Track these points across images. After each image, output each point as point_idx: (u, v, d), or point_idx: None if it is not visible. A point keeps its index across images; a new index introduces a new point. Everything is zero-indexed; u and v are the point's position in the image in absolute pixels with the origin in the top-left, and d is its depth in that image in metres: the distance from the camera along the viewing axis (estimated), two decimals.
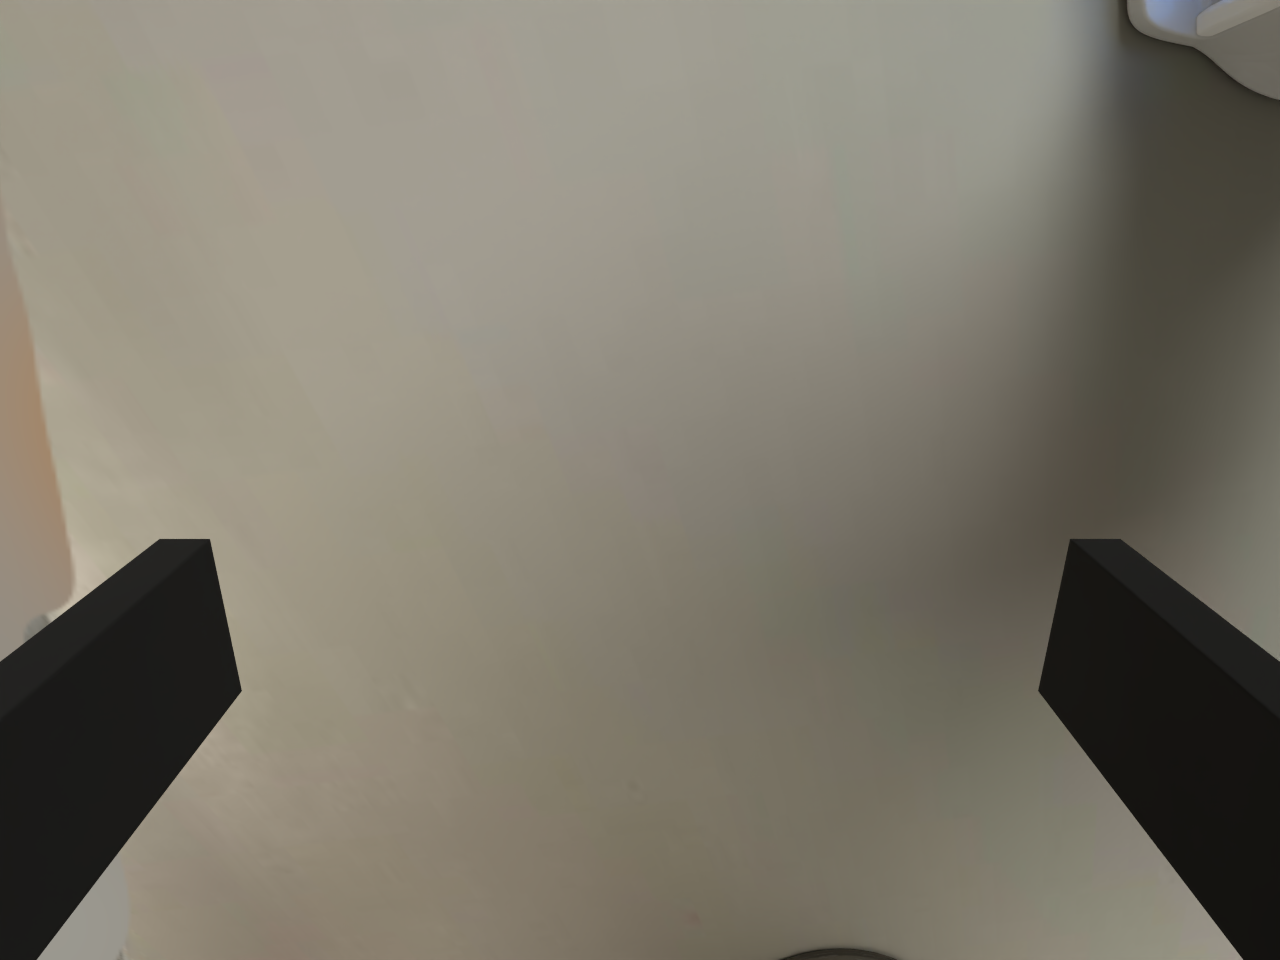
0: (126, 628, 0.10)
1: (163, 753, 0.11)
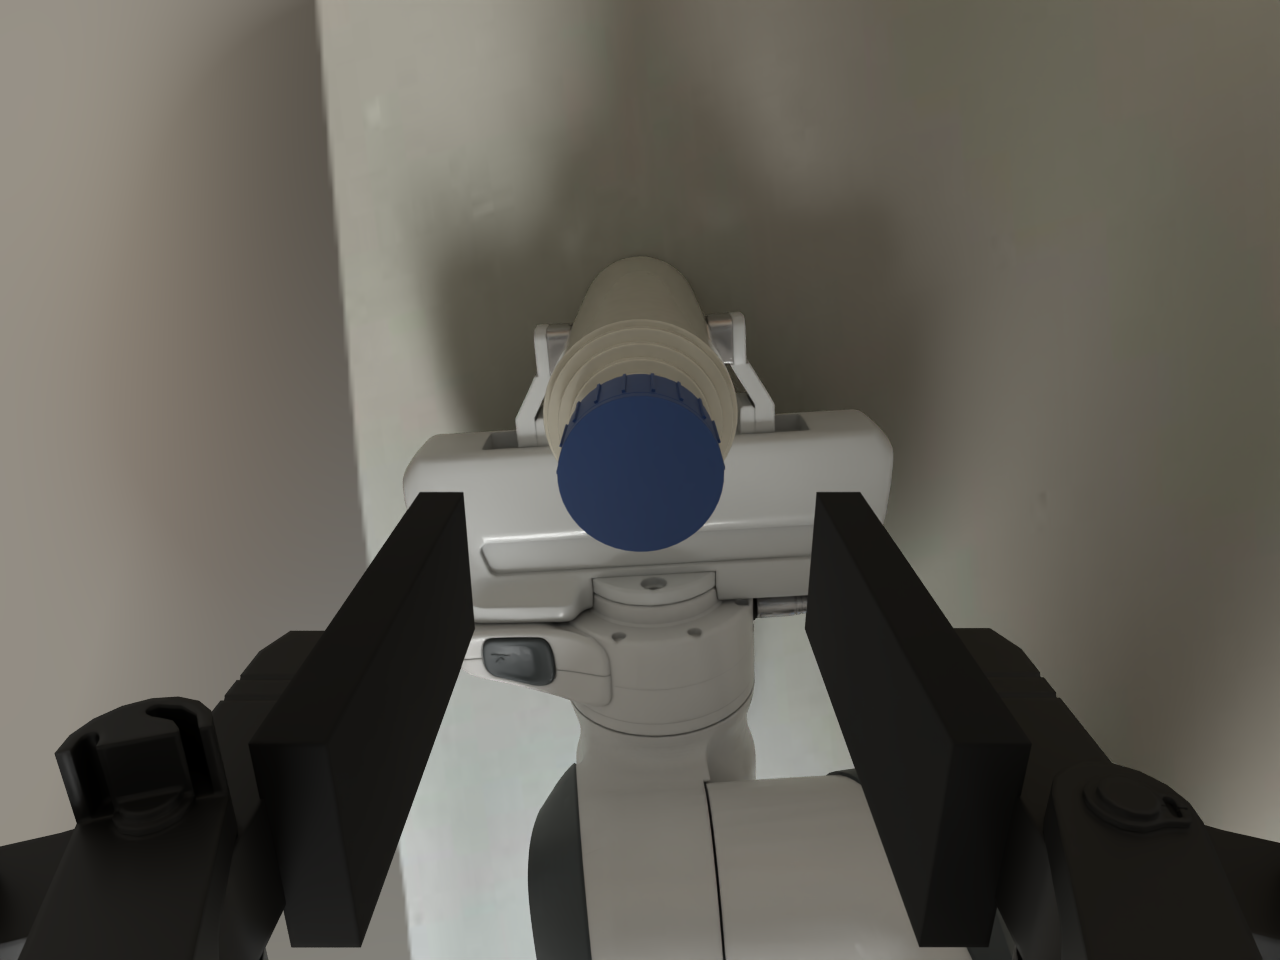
0: (434, 559, 0.12)
1: (447, 672, 0.13)
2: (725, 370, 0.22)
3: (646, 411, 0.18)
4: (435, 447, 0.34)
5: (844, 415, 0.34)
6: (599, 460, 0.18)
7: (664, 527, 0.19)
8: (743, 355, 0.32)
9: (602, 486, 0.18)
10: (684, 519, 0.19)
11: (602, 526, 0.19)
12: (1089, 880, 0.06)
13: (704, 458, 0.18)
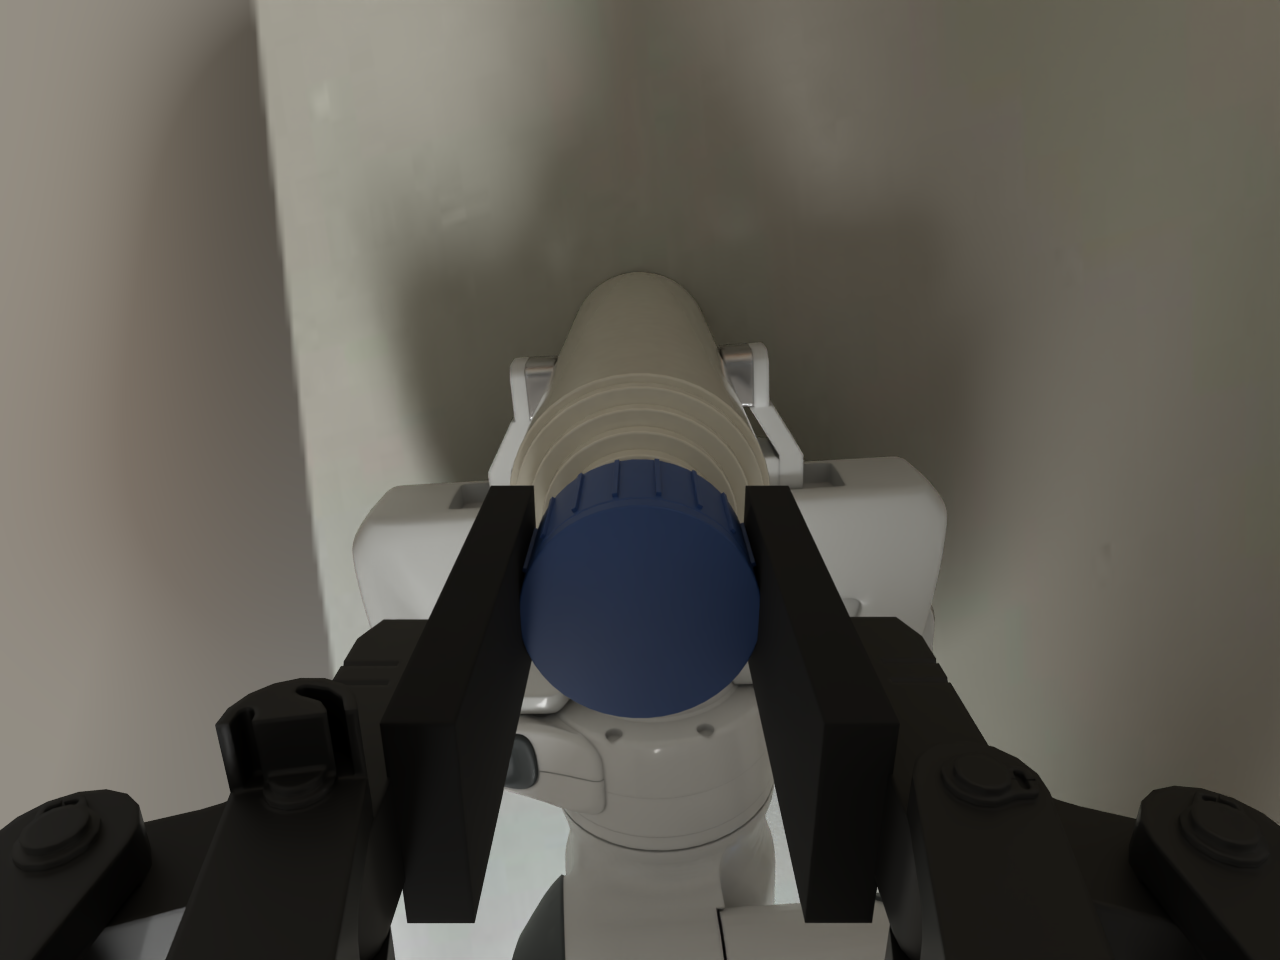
0: (516, 551, 0.12)
1: (524, 661, 0.13)
2: (754, 440, 0.16)
3: (648, 527, 0.12)
4: (393, 504, 0.28)
5: (885, 464, 0.28)
6: (578, 596, 0.12)
7: (674, 686, 0.13)
8: (765, 396, 0.26)
9: (584, 630, 0.13)
10: (703, 675, 0.13)
11: (584, 685, 0.13)
12: (945, 858, 0.07)
13: (733, 592, 0.12)
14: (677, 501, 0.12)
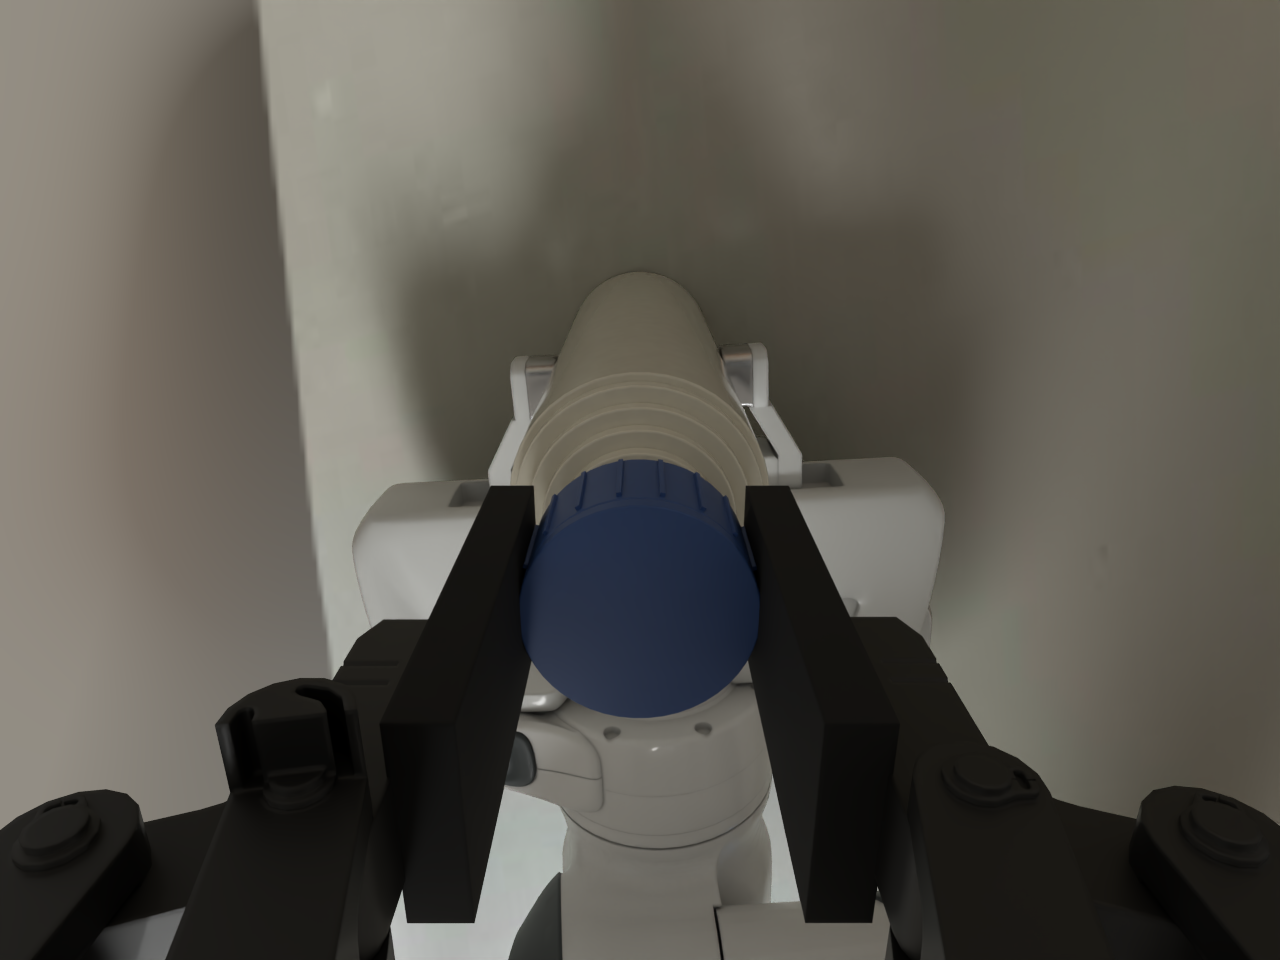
0: (516, 551, 0.12)
1: (524, 661, 0.13)
2: (754, 440, 0.17)
3: (540, 623, 0.13)
4: (393, 502, 0.28)
5: (883, 465, 0.29)
6: (623, 672, 0.13)
7: (716, 577, 0.12)
8: (765, 396, 0.26)
9: (661, 663, 0.13)
10: (698, 552, 0.12)
11: (723, 657, 0.13)
12: (945, 858, 0.07)
13: (597, 538, 0.12)
14: None
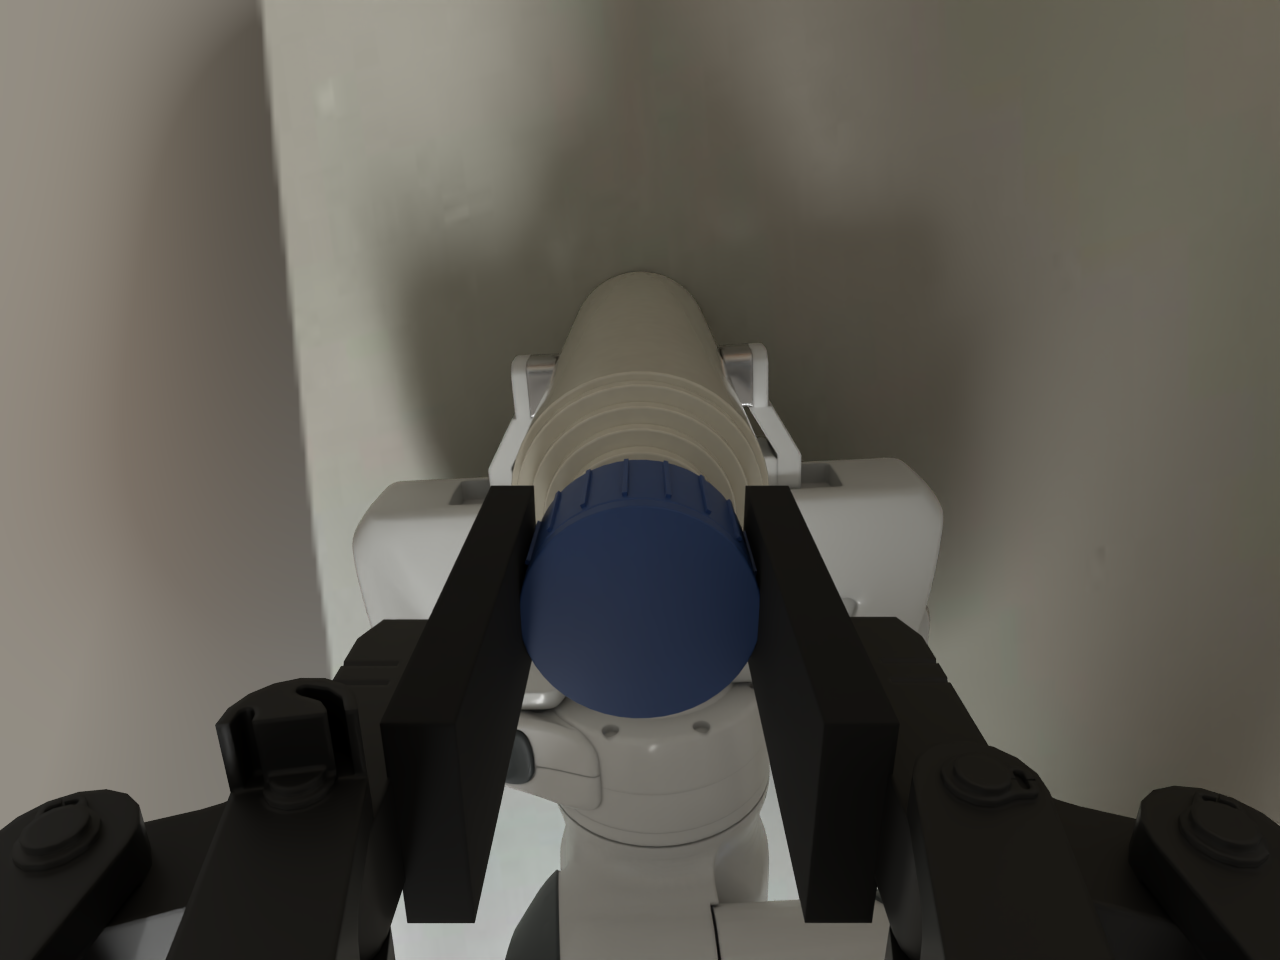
0: (516, 550, 0.12)
1: (524, 661, 0.13)
2: (754, 439, 0.17)
3: (657, 700, 0.13)
4: (393, 499, 0.28)
5: (882, 465, 0.29)
6: (704, 625, 0.13)
7: (582, 557, 0.12)
8: (765, 396, 0.26)
9: (690, 592, 0.12)
10: (557, 577, 0.12)
11: (675, 536, 0.12)
12: (945, 858, 0.07)
13: (560, 662, 0.13)
14: None
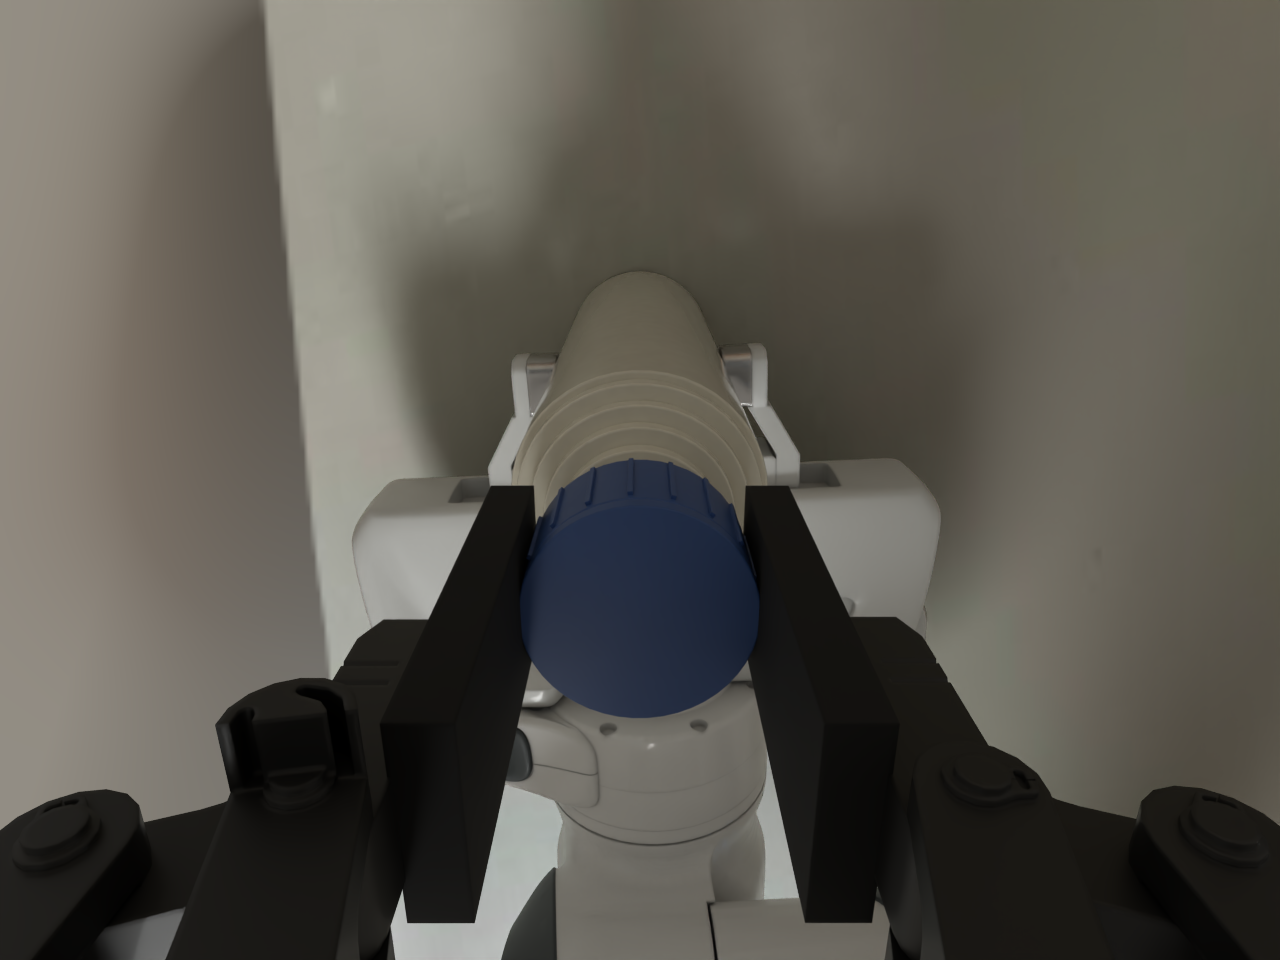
0: (516, 551, 0.12)
1: (524, 661, 0.13)
2: (753, 438, 0.17)
3: (735, 591, 0.12)
4: (393, 497, 0.28)
5: (880, 466, 0.29)
6: (638, 558, 0.12)
7: (580, 672, 0.13)
8: (764, 396, 0.26)
9: (603, 577, 0.12)
10: (603, 691, 0.13)
11: (544, 598, 0.12)
12: (945, 858, 0.07)
13: (699, 680, 0.13)
14: None
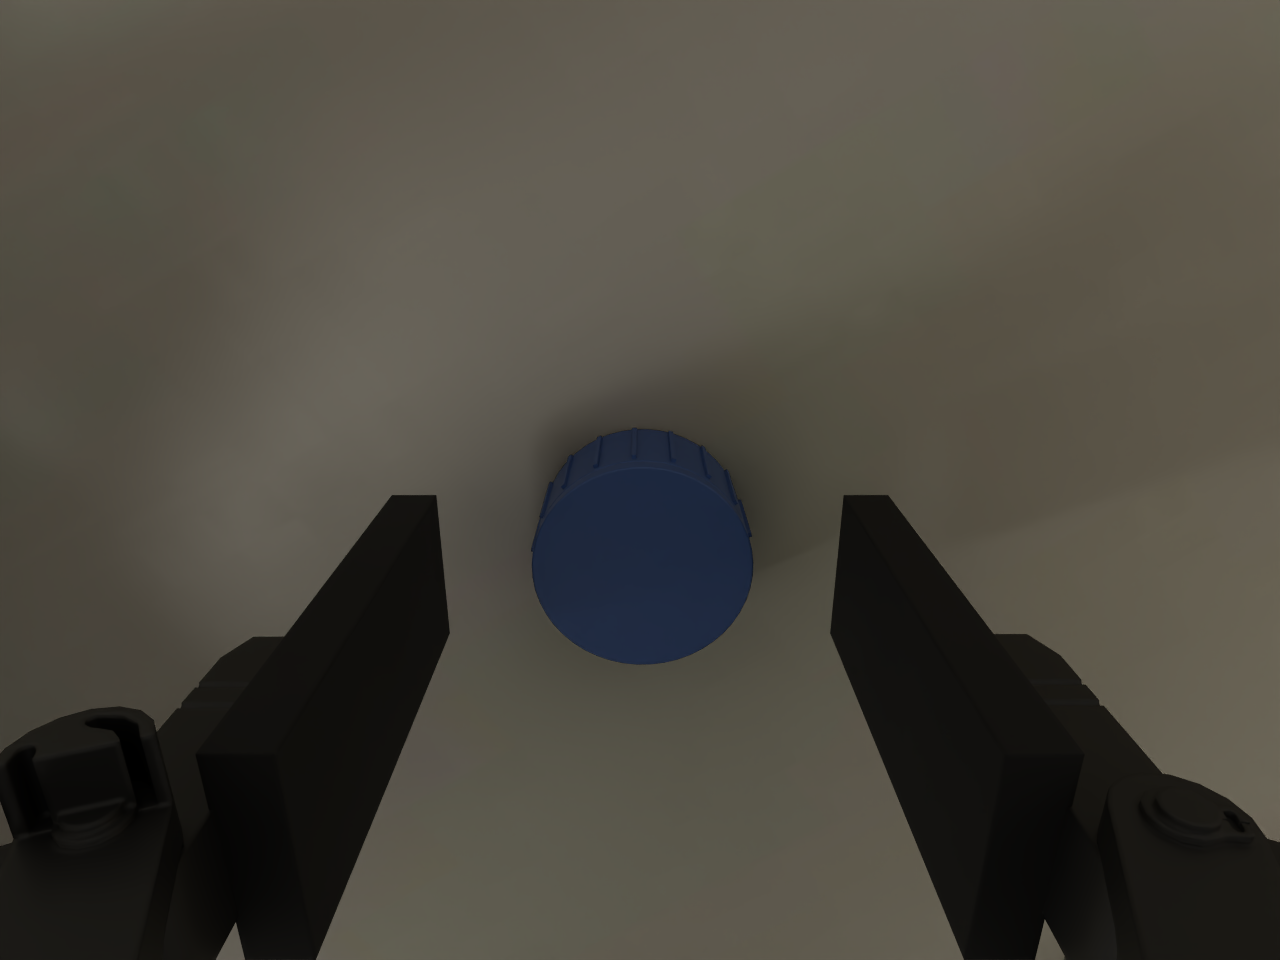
0: (402, 564, 0.12)
1: (417, 677, 0.13)
2: None
3: (729, 545, 0.14)
4: None
5: None
6: (642, 516, 0.13)
7: (588, 621, 0.14)
8: None
9: (609, 532, 0.14)
10: (610, 638, 0.14)
11: (556, 553, 0.14)
12: (1147, 892, 0.06)
13: (696, 628, 0.14)
14: None
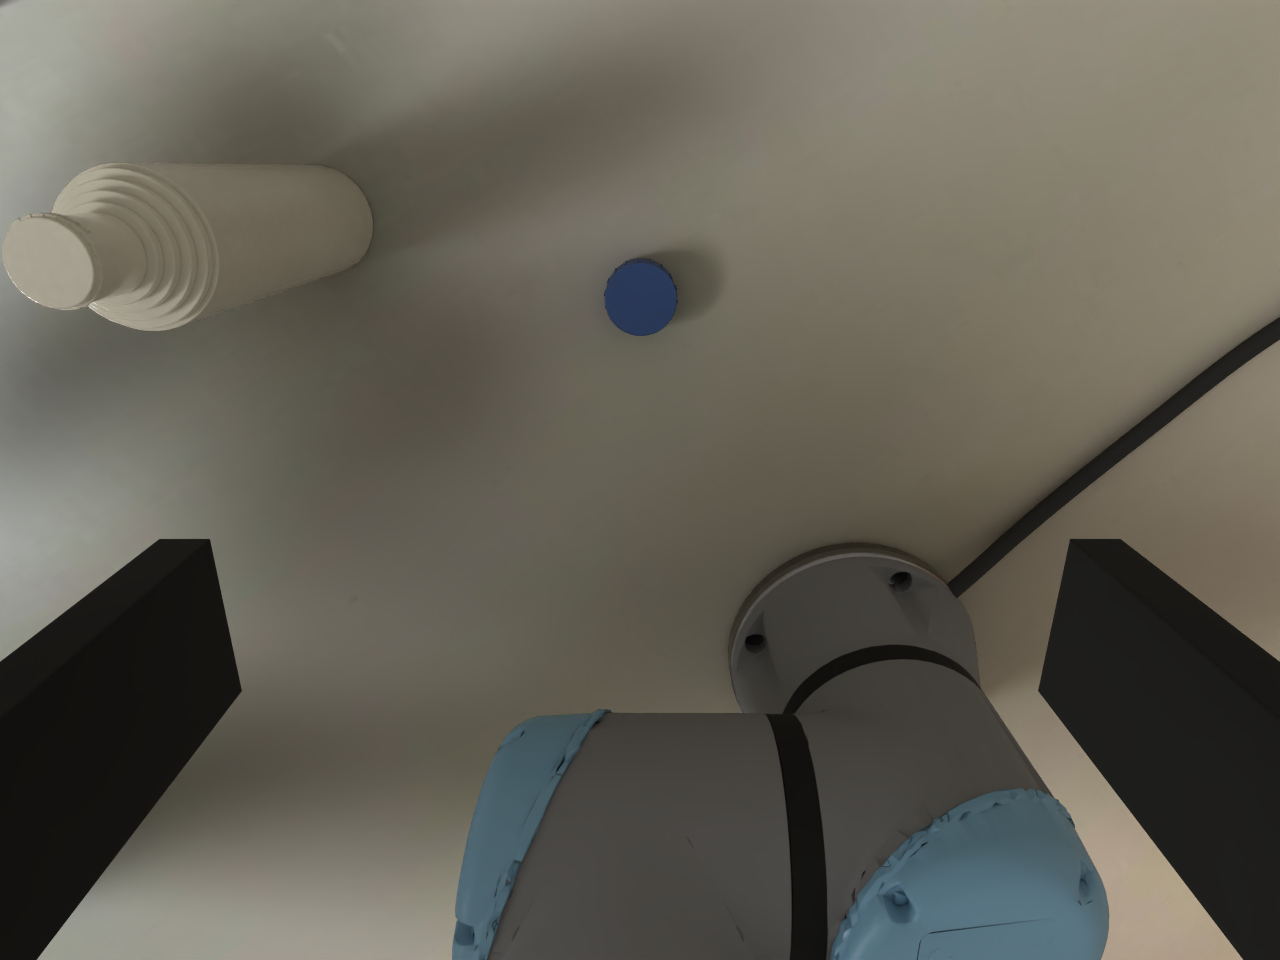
0: (125, 628, 0.10)
1: (163, 753, 0.11)
2: (207, 300, 0.28)
3: (668, 290, 0.42)
4: None
5: None
6: (640, 280, 0.42)
7: (623, 318, 0.43)
8: None
9: (630, 286, 0.42)
10: (630, 325, 0.43)
11: (612, 293, 0.42)
12: None
13: (658, 321, 0.43)
14: None
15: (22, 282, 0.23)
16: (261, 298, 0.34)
